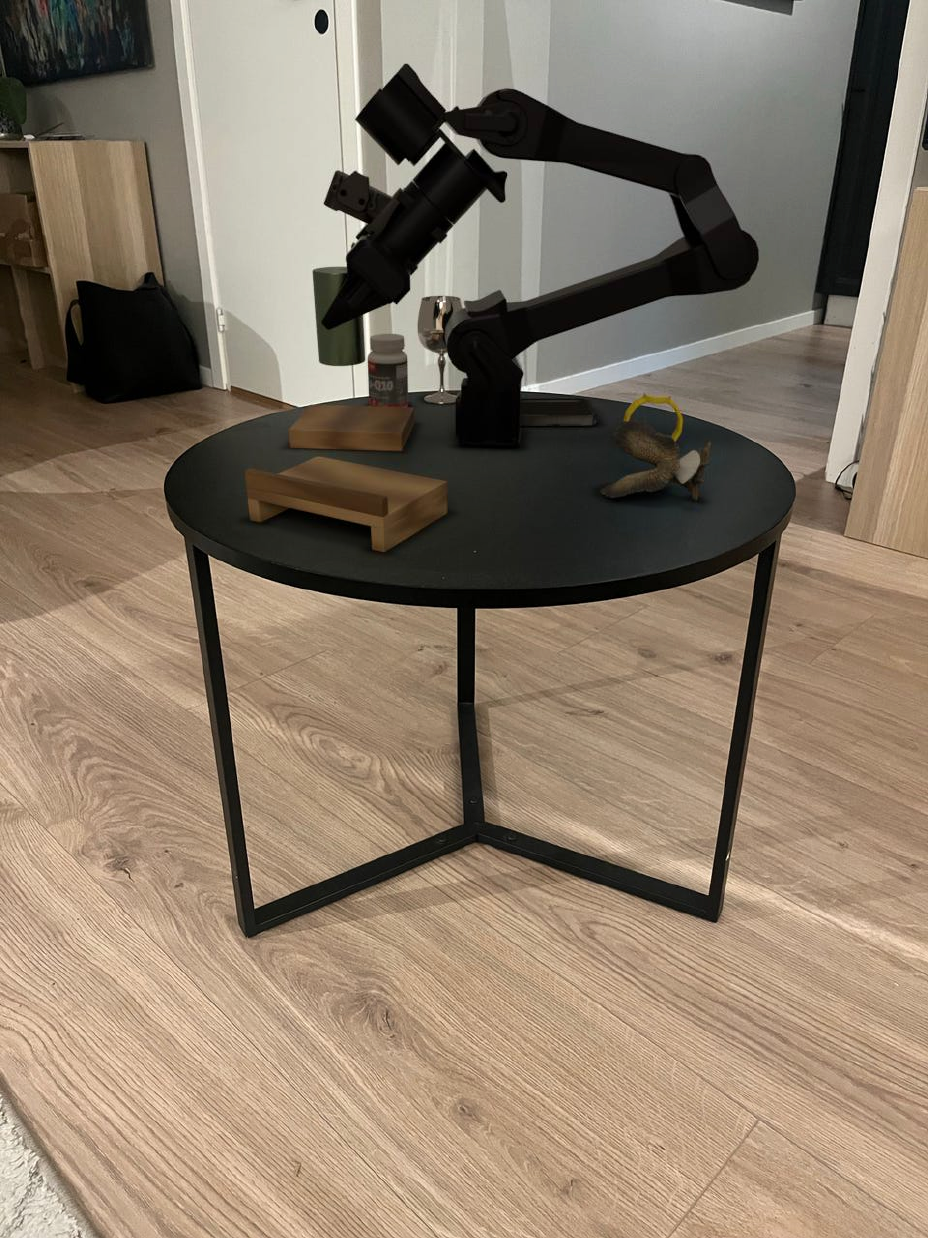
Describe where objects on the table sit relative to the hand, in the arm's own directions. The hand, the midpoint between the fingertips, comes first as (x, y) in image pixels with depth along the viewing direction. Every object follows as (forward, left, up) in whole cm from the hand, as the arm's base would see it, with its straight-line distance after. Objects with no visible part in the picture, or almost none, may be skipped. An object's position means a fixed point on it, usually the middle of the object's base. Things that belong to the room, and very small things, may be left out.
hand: (326, 321), depth 97 cm
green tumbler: (-1, 0, -4) cm, 4 cm away
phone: (-21, -11, -13) cm, 27 cm away
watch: (-34, 0, -13) cm, 36 cm away
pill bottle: (-4, -14, -13) cm, 19 cm away
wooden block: (-2, -2, -13) cm, 13 cm away
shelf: (-6, +22, -13) cm, 26 cm away
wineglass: (-10, -19, -13) cm, 25 cm away
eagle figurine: (-33, +14, -13) cm, 38 cm away
